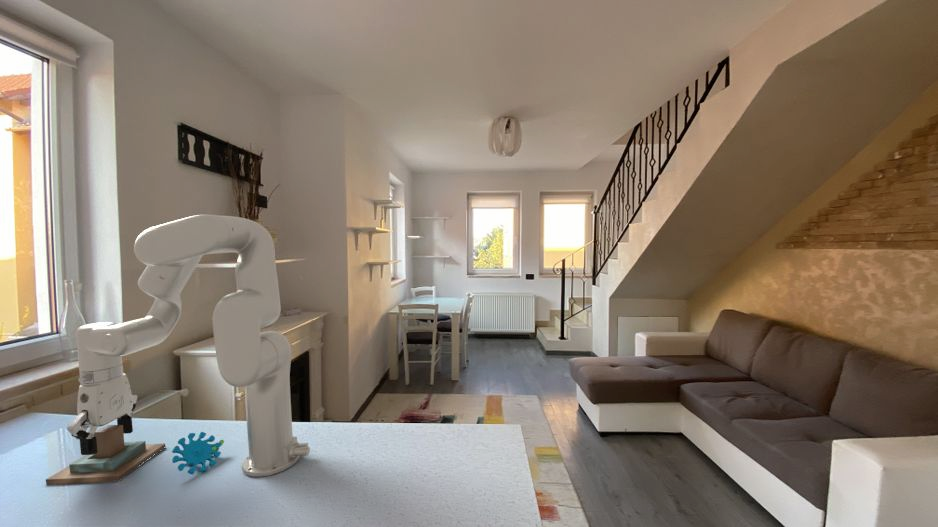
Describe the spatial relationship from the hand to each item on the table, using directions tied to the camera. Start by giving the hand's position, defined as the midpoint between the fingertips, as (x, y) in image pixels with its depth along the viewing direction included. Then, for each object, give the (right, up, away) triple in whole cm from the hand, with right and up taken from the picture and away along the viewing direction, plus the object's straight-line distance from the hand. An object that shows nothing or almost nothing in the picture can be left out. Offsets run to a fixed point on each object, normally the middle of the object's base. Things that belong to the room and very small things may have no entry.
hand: (108, 443), depth 94 cm
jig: (0, -6, 0) cm, 6 cm away
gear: (+23, -5, -1) cm, 24 cm away
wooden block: (0, -5, 0) cm, 5 cm away
